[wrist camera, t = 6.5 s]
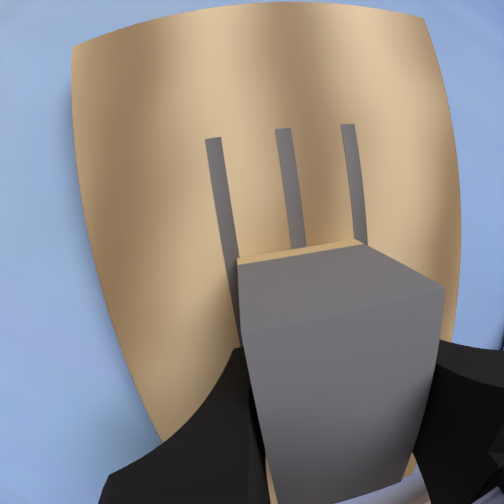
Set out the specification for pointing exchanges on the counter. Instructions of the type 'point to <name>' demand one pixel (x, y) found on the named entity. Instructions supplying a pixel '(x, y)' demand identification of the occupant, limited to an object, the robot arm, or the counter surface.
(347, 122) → the board
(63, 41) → the counter surface
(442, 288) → the block
